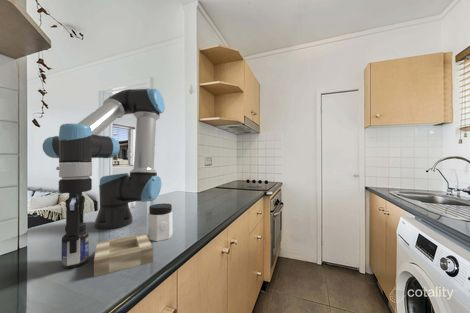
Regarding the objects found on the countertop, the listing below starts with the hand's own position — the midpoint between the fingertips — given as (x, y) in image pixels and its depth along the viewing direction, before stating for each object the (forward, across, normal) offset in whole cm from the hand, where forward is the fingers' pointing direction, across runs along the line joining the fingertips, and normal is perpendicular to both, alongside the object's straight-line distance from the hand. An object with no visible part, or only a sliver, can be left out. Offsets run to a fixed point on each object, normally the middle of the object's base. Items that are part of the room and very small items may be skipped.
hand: (75, 258), depth 58 cm
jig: (+1, +3, +12) cm, 12 cm away
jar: (+2, -8, +25) cm, 26 cm away
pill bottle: (+2, 0, 0) cm, 2 cm away
